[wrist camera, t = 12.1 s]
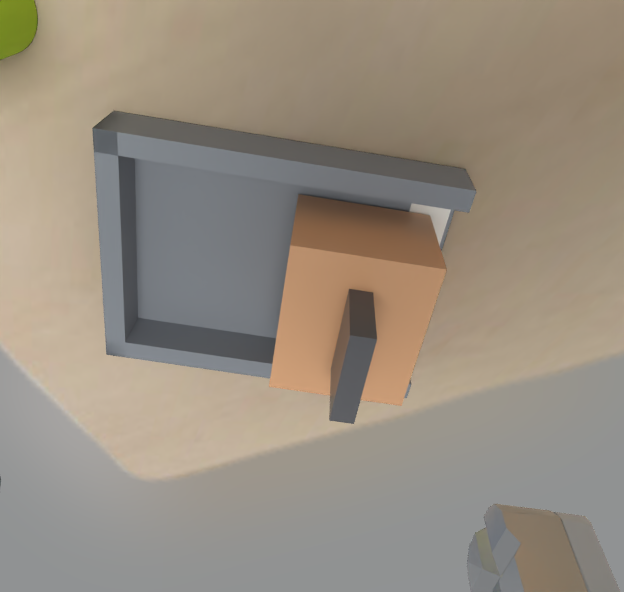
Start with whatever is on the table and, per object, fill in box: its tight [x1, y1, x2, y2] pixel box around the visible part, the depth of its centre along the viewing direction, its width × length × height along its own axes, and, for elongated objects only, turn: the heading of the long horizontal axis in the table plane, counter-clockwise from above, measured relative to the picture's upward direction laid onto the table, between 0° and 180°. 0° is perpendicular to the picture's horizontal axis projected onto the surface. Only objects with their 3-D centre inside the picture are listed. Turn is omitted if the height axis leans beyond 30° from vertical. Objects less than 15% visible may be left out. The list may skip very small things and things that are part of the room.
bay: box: [93, 111, 476, 398], centre depth 44 cm, size 26×19×4 cm
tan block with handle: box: [269, 194, 447, 424], centre depth 40 cm, size 10×12×13 cm
